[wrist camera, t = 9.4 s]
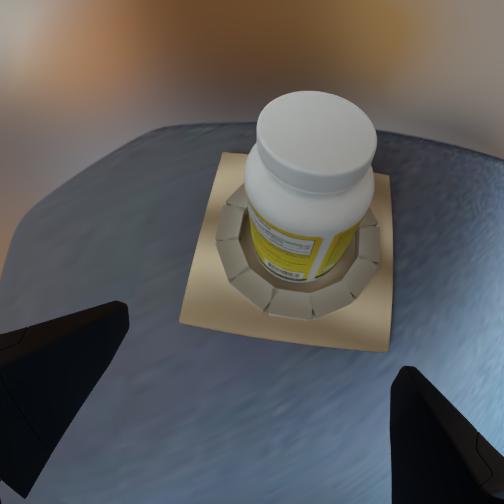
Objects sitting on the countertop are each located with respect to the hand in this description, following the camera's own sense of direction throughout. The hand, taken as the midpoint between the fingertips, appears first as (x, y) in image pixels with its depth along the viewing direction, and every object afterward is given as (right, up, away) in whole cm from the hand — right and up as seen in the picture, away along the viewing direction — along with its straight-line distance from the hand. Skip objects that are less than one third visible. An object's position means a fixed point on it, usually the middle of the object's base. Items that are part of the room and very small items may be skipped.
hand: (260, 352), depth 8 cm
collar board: (+3, +4, +13) cm, 14 cm away
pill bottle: (+3, +4, +12) cm, 13 cm away
